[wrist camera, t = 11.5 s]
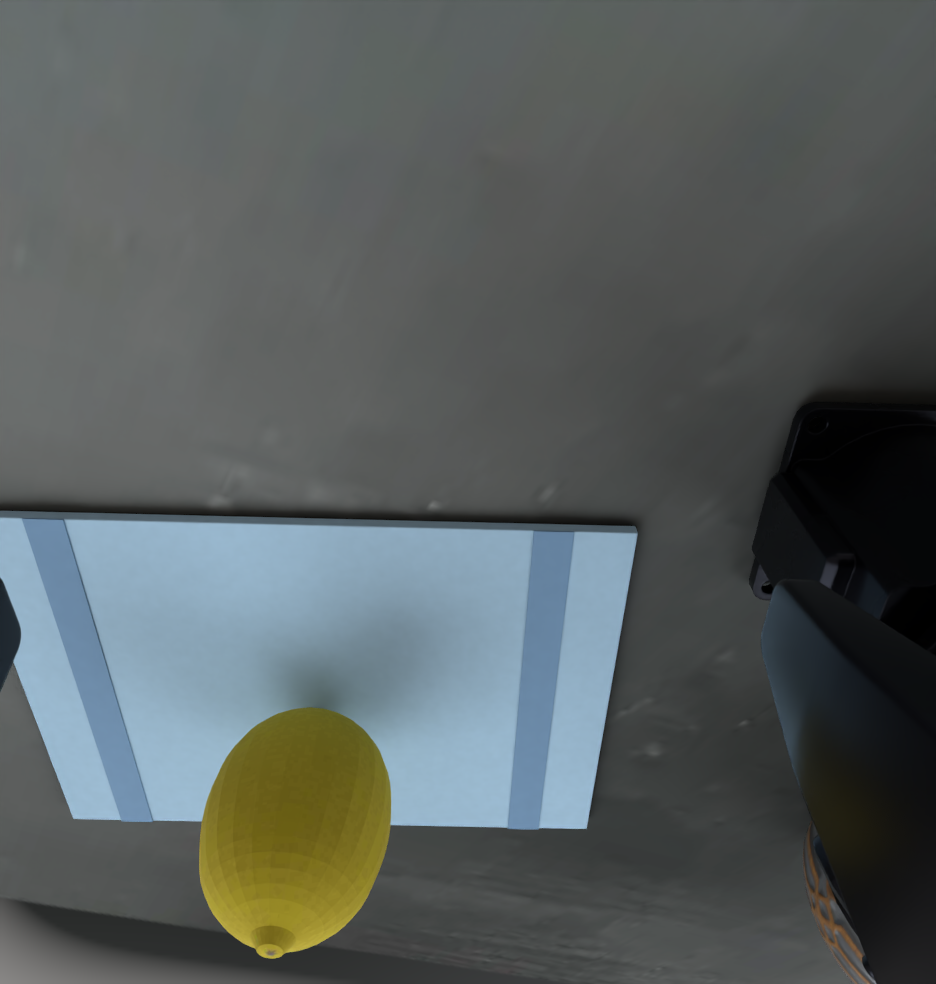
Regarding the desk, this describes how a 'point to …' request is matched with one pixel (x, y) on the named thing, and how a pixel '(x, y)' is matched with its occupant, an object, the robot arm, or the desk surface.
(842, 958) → the vase
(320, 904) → the lemon
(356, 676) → the cloth
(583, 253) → the desk surface
